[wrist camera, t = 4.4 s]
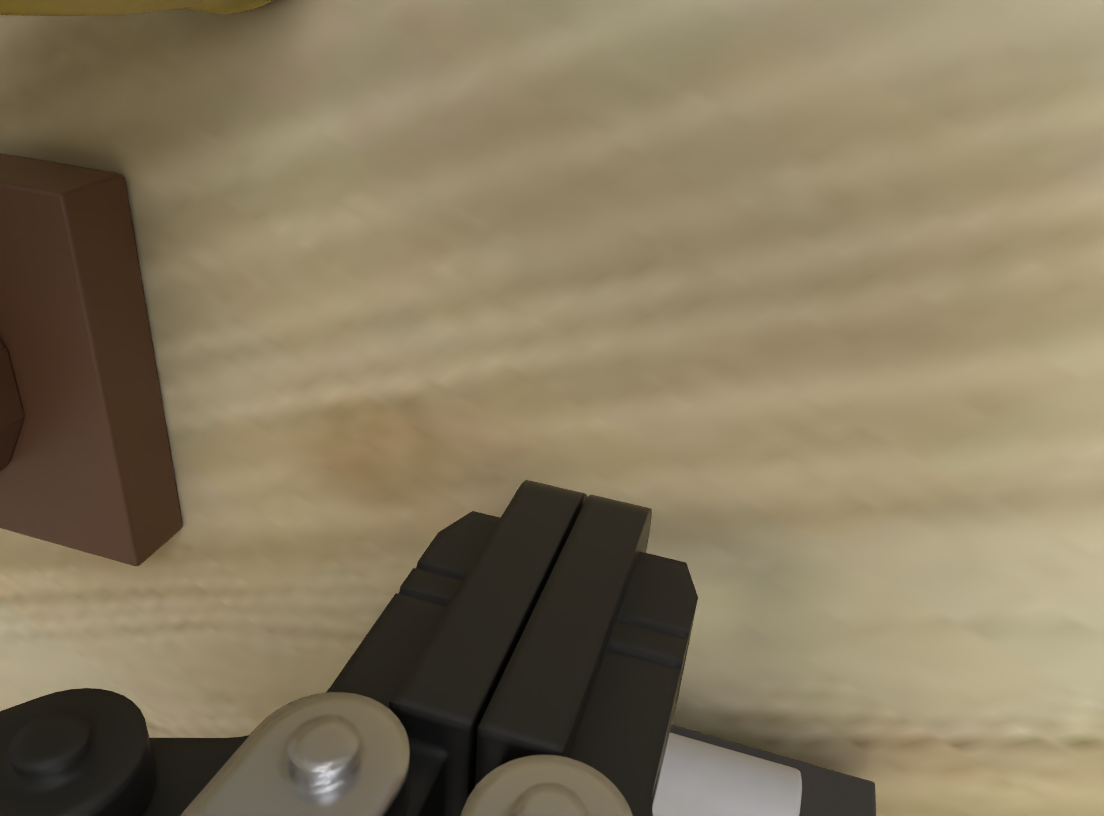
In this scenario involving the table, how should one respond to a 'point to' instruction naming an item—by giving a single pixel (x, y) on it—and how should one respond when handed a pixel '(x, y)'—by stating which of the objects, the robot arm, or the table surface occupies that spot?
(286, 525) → the table surface
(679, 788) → the drawer
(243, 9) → the vase
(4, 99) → the table surface
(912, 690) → the table surface
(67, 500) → the control block
